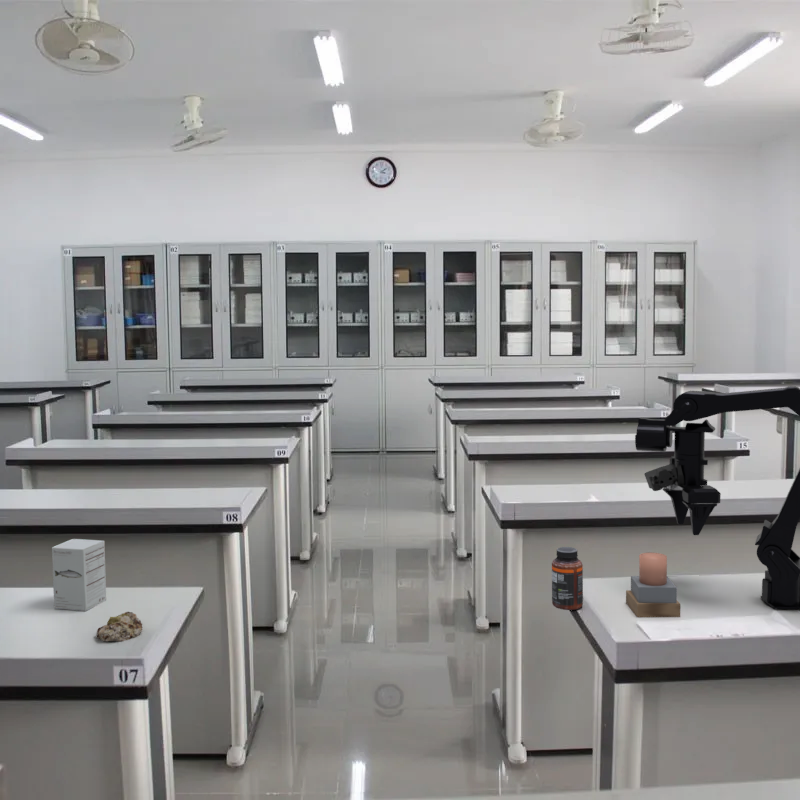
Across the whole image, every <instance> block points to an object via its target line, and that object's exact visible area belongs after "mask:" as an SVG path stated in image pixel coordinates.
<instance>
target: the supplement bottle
mask: <svg viewBox="0 0 800 800" xmlns="http://www.w3.org/2000/svg"><path fill="white" fill-rule="evenodd" d="M578 556H579V555H578V549H577V548H575V547H572V546H561V547H557V548H556V558H554V559H553V560H552V562H551V601H552V602H551V603H552V606H553V607H555V608H556V609H558V610H564V611H573V610H579V609H580V608H582V607H583V605H584V602H583V601H584V591H583V590H584V586H583V585H584V581H583V580H584V579H583V578H584V577H583V576H584V574H583V573H584V571H583V569H584V568H583V567H584V565H583V562H582V561H581V560H580V559H579V557H578Z"/></svg>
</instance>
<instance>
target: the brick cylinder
mask: <svg viewBox="0 0 800 800" xmlns="http://www.w3.org/2000/svg"><path fill="white" fill-rule="evenodd" d="M638 557H639V561H638V562H639V565H638V566H639V573H638V574H639V575H638V576H639V581H640V583H642V584H645V585H650V586H662V585H665V584H666V583H667V576H668V564H667V563H668V557H667V555H666V554H663V553H660V552H650V551H649V552H643V553H639V556H638Z"/></svg>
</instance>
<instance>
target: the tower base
mask: <svg viewBox="0 0 800 800" xmlns="http://www.w3.org/2000/svg"><path fill="white" fill-rule="evenodd" d="M625 604H626V605H627V606H628V607H629V609H630V610H631V612H632V613H633V614H634V615H635V617H636V618H681V602H680V601H678V600H677V603H638V601H637V600H636V598H635V597H634V595H633V594H632V592H631V589H630V590H628V589H627V590H625Z"/></svg>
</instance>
